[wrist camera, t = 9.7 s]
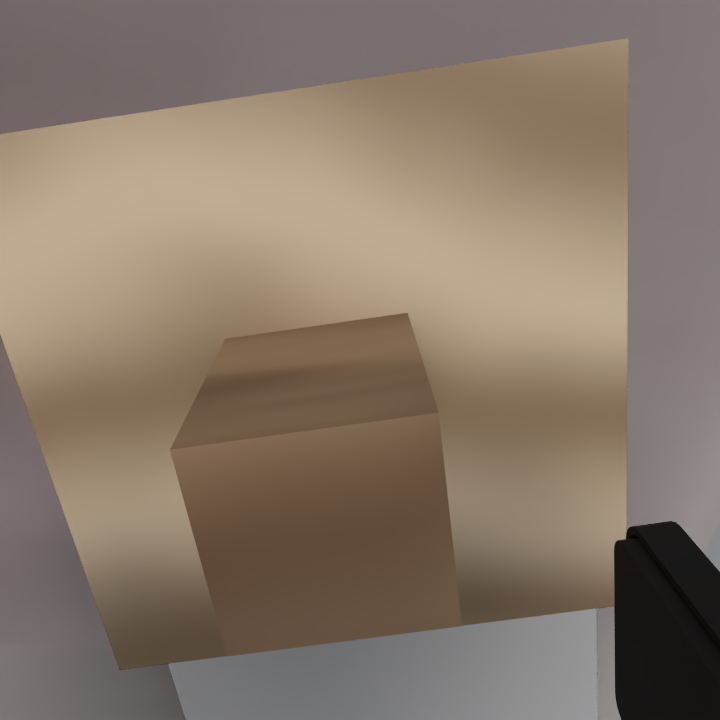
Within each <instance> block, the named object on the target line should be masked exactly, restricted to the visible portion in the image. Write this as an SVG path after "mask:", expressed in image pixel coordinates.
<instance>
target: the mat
mask: <svg viewBox="0 0 720 720" xmlns="http://www.w3.org/2000/svg"><path fill="white" fill-rule="evenodd" d="M168 665H169V668H170V672H171V675H172V678H173V681H174V684H175V687H176V691H177V694H178V697H179V700H180V703H181V706H182V710H183V713H184V716H185V719H186V720H598V707H597V620H596V609H589V610H581V611H573V612H566V613H558V614H550V615H542V616H535V617H527V618H519V619H511V620H504V621H496V622H488V623H480V624H473V625H465V626H460V627H452V628H444V629H437V630H429V631H421V632H413V633H406V634H398V635H390V636H382V637H375V638H367V639H359V640H351V641H344V642H336V643H328V644H320V645H313V646H305V647H297V648H289V649H282V650H274V651H266V652H258V653H251V654H243V655H235V656H225V657H217V658H209V659H201V660H194V661H186V662H178V663H170V664H168Z"/></svg>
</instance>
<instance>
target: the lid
mask: <svg viewBox="0 0 720 720" xmlns="http://www.w3.org/2000/svg"><path fill="white" fill-rule="evenodd" d="M627 258H628V39H621V40H615V41H608V42H601V43H595V44H588V45H582V46H575V47H569V48H562V49H556V50H549V51H542V52H536V53H529V54H523V55H516V56H510V57H503V58H497V59H490V60H483V61H477V62H470V63H464V64H457V65H451V66H444V67H438V68H431V69H424V70H418V71H411V72H405V73H398V74H392V75H385V76H379V77H372V78H365V79H359V80H352V81H346V82H339V83H333V84H326V85H320V86H313V87H306V88H300V89H293V90H287V91H280V92H274V93H267V94H260V95H254V96H247V97H241V98H234V99H228V100H221V101H215V102H208V103H201V104H195V105H188V106H182V107H175V108H169V109H162V110H156V111H149V112H142V113H136V114H129V115H123V116H116V117H110V118H103V119H97V120H90V121H83V122H77V123H70V124H64V125H57V126H51V127H44V128H38V129H31V130H24V131H18V132H11V133H5V134H0V335H1V337H2V340H3V343H4V346H5V349H6V351H7V354H8V357H9V360H10V363H11V365H12V368H13V371H14V374H15V377H16V379H17V382H18V385H19V388H20V391H21V394H22V396H23V399H24V402H25V405H26V408H27V410H28V413H29V416H30V419H31V422H32V424H33V427H34V430H35V433H36V436H37V439H38V441H39V444H40V447H41V450H42V453H43V455H44V458H45V461H46V464H47V467H48V469H49V472H50V475H51V478H52V481H53V483H54V486H55V489H56V492H57V495H58V498H59V500H60V503H61V506H62V509H63V512H64V514H65V517H66V520H67V523H68V526H69V528H70V531H71V534H72V537H73V540H74V543H75V545H76V548H77V551H78V554H79V557H80V559H81V562H82V565H83V568H84V571H85V573H86V576H87V579H88V582H89V585H90V587H91V590H92V593H93V596H94V599H95V602H96V604H97V607H98V610H99V613H100V616H101V618H102V621H103V624H104V627H105V630H106V632H107V635H108V638H109V641H110V644H111V646H112V649H113V652H114V655H115V658H116V661H117V663H118V666H119V669H120V670H124V669H132V668H139V667H147V666H155V665H163V664H170V663H178V662H186V661H194V660H201V659H209V658H217V657H225V656H235V655H243V654H251V653H258V652H266V651H274V650H282V649H289V648H297V647H305V646H313V645H320V644H328V643H336V642H344V641H351V640H359V639H367V638H375V637H382V636H390V635H398V634H406V633H413V632H421V631H429V630H437V629H444V628H452V627H460V626H465V625H473V624H480V623H488V622H496V621H504V620H511V619H519V618H527V617H535V616H542V615H550V614H558V613H566V612H573V611H581V610H589V609H597V608H604V607H612V606H615V603H614V545H615V542H616V541H617V540H623V539H626V502H627Z"/></svg>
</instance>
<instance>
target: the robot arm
mask: <svg viewBox="0 0 720 720" xmlns="http://www.w3.org/2000/svg"><path fill="white" fill-rule="evenodd" d="M614 603H615V694H616V702H617V707H618V711H619V714H620V717H621V720H720V572H719V571H718V569H717V568H716V567H715V566H714V565H713V564H712V563H711V562H710V560H709V559H708V558H707V557H706V556H705V554H704V553H703V552H702V551H701V550H700V549H699V547H698V546H697V545H696V544H695V543H694V542H693V540H692V539H691V538H690V537H689V536H688V535H687V534H686V532H685V531H684V530H683V529H682V528H681V527H680V526H679V525H678V524H677V523H676V522H672V521H669V522H662V523H655V524H648V525H641V526H633V527H630V528H629V529H628V530H627V533H626V539H623V540H617V541H616V542H615V545H614Z"/></svg>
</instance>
